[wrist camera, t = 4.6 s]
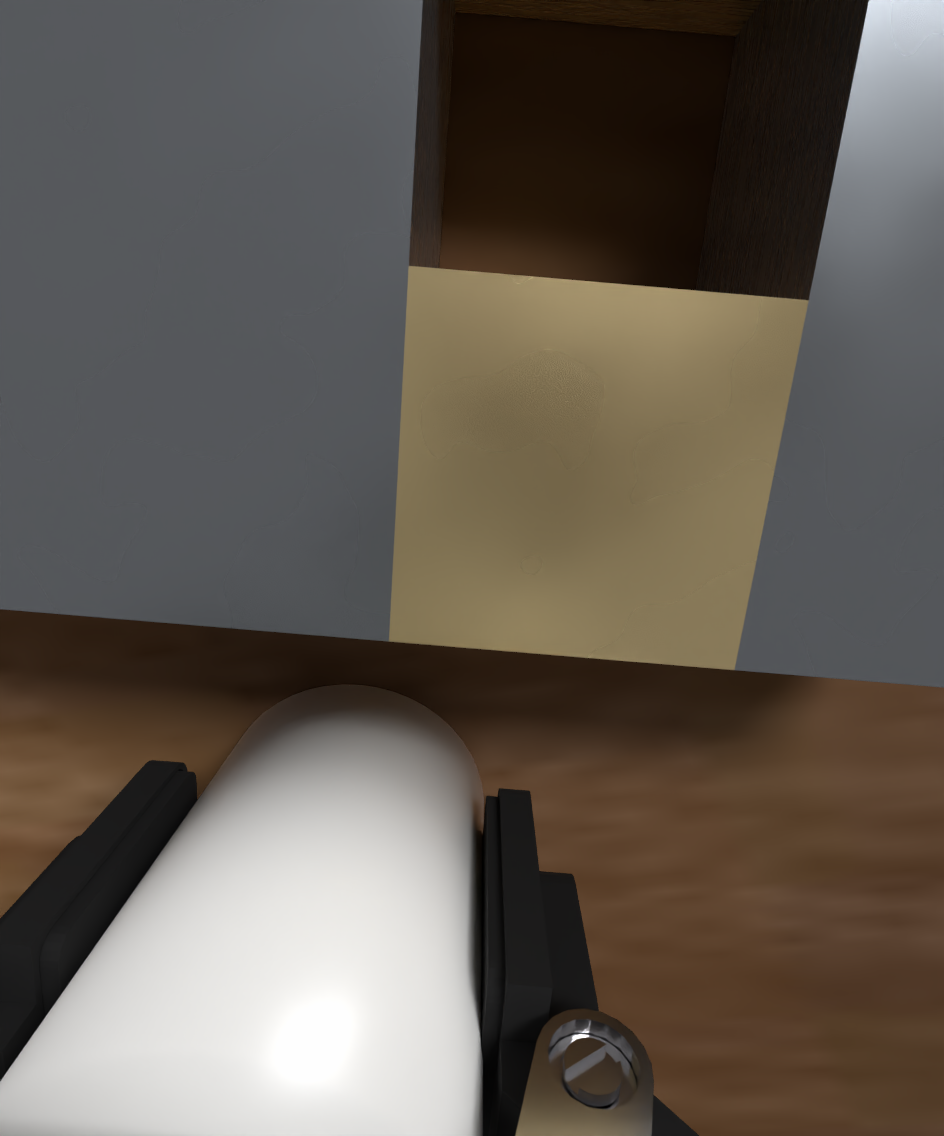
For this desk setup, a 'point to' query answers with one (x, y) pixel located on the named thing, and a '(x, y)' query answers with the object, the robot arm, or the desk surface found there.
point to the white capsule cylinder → (288, 947)
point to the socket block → (468, 346)
